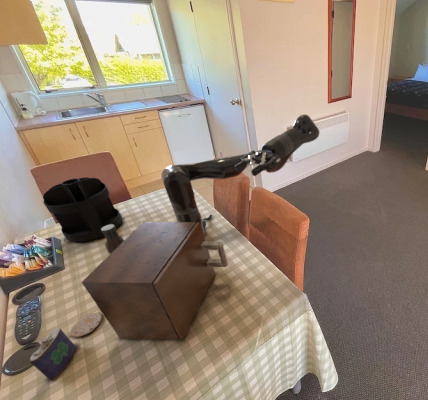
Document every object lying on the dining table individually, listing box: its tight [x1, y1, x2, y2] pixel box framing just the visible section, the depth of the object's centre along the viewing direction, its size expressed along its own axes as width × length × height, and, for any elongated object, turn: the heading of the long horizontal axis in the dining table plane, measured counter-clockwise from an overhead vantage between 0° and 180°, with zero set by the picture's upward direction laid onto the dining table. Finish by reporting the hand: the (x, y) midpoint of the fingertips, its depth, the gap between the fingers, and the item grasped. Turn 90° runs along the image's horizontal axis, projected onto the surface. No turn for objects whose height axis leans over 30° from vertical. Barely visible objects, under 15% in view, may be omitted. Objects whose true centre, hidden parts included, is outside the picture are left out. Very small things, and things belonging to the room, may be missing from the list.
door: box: [153, 223, 229, 340], centre depth 83 cm, size 8×26×24 cm, turn 178°
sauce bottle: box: [101, 224, 125, 256], centre depth 98 cm, size 7×6×20 cm
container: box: [42, 176, 123, 243], centre depth 120 cm, size 22×23×25 cm
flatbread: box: [69, 312, 103, 338], centre depth 82 cm, size 8×8×1 cm
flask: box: [29, 327, 77, 381], centre depth 70 cm, size 9×3×11 cm, turn 8°
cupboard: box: [81, 221, 196, 340], centre depth 84 cm, size 18×26×24 cm
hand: (244, 171), depth 85 cm, fingers open, 8 cm apart
